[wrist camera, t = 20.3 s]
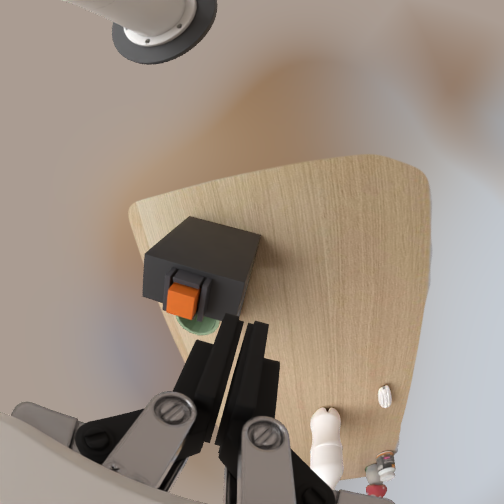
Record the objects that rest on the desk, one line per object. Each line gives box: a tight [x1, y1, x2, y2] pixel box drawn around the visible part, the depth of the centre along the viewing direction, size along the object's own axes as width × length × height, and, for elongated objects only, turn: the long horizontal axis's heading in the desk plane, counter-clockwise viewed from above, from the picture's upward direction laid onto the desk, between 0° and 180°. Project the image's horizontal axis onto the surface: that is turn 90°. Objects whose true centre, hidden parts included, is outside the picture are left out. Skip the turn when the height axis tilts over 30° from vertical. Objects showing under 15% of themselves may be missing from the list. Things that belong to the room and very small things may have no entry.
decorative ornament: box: [365, 464, 387, 497], centre depth 65 cm, size 9×7×15 cm
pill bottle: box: [376, 451, 395, 482], centre depth 63 cm, size 6×6×10 cm
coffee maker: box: [143, 216, 261, 322], centre depth 41 cm, size 16×12×18 cm
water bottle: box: [310, 407, 344, 490], centre depth 49 cm, size 7×7×25 cm
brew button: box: [166, 282, 201, 320], centre depth 31 cm, size 3×3×2 cm
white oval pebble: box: [378, 385, 392, 408], centre depth 55 cm, size 3×8×3 cm, turn 22°
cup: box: [176, 314, 220, 335], centre depth 46 cm, size 7×7×8 cm
